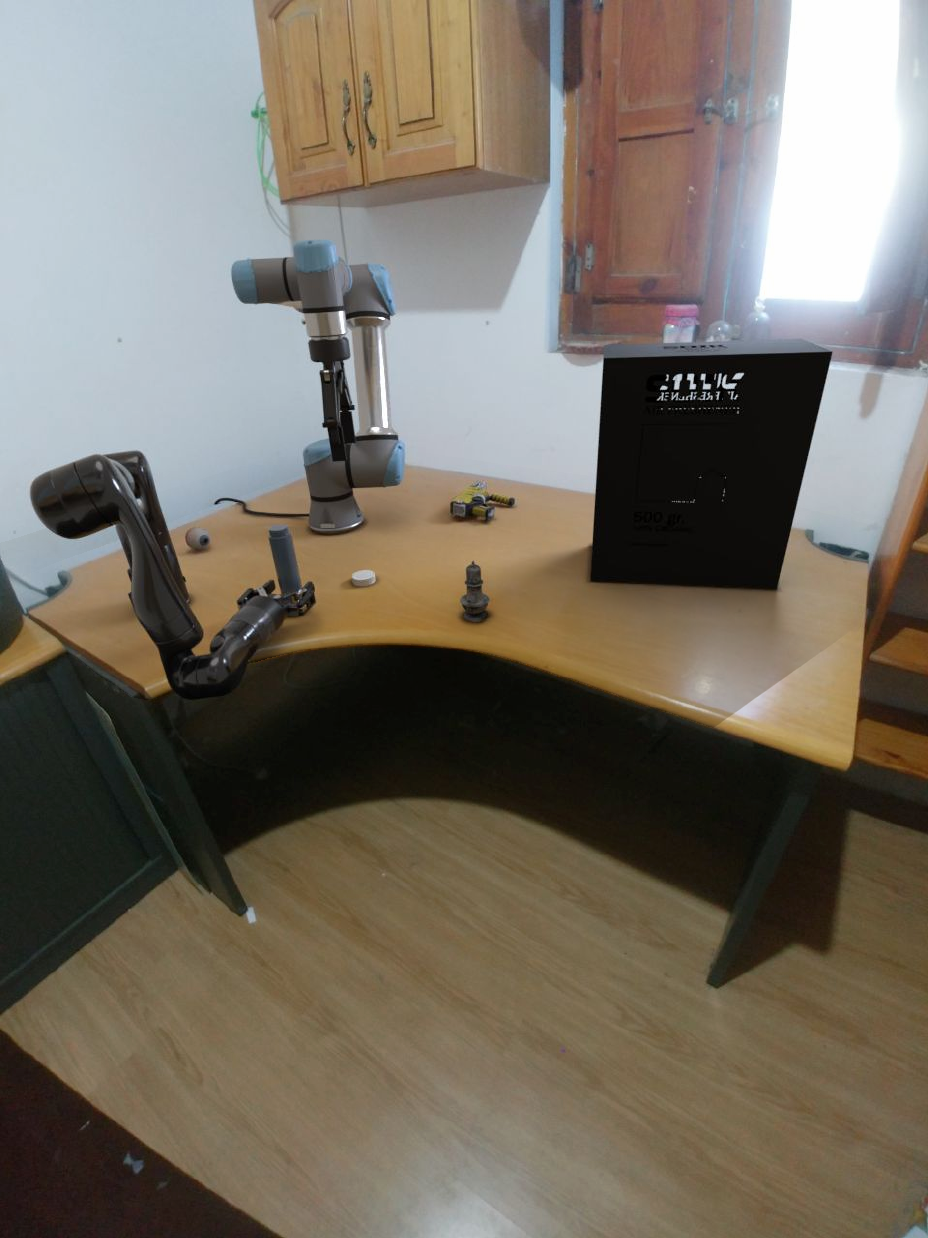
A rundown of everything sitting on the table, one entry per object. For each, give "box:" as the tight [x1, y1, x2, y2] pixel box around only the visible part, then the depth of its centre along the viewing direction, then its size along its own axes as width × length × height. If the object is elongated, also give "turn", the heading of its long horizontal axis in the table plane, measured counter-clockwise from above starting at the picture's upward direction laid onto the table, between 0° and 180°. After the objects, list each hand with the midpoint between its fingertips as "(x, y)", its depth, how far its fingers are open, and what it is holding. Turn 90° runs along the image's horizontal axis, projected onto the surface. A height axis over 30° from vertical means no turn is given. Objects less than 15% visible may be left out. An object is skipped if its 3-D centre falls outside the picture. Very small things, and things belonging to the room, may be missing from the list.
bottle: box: [267, 523, 303, 617], centre depth 122 cm, size 4×4×19 cm
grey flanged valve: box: [459, 560, 491, 623], centre depth 118 cm, size 6×6×12 cm
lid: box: [351, 569, 376, 587], centre depth 137 cm, size 5×5×2 cm
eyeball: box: [184, 526, 211, 551], centre depth 157 cm, size 6×6×6 cm
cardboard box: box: [589, 338, 834, 590], centre depth 125 cm, size 38×20×45 cm, turn 78°
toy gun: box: [449, 480, 516, 522], centre depth 174 cm, size 5×24×15 cm
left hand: (292, 584), depth 124 cm, fingers open, 8 cm apart
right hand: (344, 451), depth 123 cm, fingers open, 13 cm apart
